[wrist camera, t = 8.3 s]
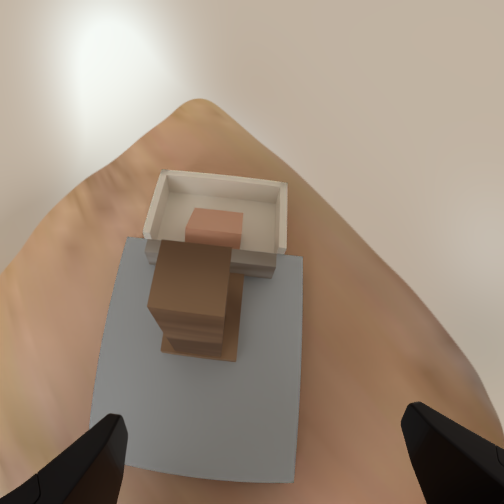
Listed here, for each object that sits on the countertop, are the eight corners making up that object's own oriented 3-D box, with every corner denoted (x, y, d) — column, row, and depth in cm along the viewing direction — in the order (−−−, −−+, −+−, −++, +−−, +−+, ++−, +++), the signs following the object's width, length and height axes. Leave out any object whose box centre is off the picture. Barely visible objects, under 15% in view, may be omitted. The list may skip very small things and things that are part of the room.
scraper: (265, 364, 21) (302, 326, 12) (134, 347, 20) (78, 297, 12) (271, 269, 24) (302, 182, 15) (153, 255, 24) (124, 164, 15)
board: (287, 477, 19) (293, 482, 17) (96, 451, 18) (86, 454, 16) (297, 267, 27) (302, 256, 25) (132, 248, 26) (127, 236, 24)
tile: (238, 258, 24) (241, 233, 23) (184, 252, 23) (185, 227, 22) (240, 235, 27) (243, 212, 26) (193, 229, 27) (194, 207, 26)
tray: (279, 265, 27) (286, 248, 24) (149, 250, 26) (142, 231, 23) (281, 203, 30) (287, 182, 27) (165, 190, 29) (161, 169, 27)
